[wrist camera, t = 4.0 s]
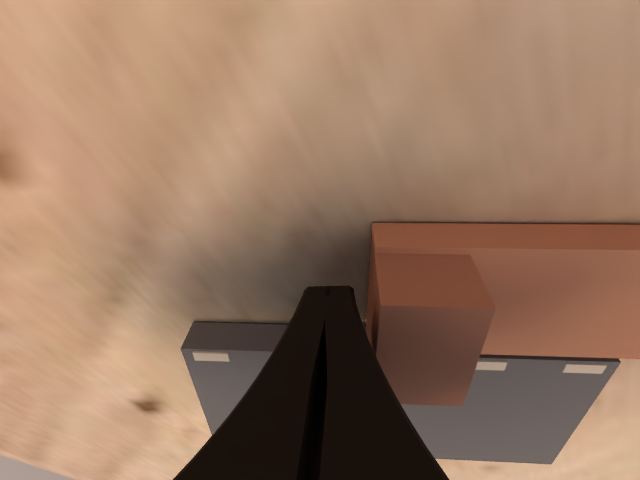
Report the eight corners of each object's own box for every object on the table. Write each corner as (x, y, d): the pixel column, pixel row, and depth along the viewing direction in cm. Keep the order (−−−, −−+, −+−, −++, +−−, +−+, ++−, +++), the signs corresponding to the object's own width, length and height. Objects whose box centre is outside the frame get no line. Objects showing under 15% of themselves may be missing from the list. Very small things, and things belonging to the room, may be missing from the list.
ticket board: (598, 332, 12) (622, 364, 11) (538, 434, 16) (552, 466, 15) (193, 322, 13) (180, 350, 12) (224, 421, 17) (216, 449, 16)
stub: (752, 225, 10) (902, 309, 7) (674, 330, 12) (766, 423, 9) (372, 222, 10) (381, 298, 8) (365, 322, 12) (371, 407, 10)
